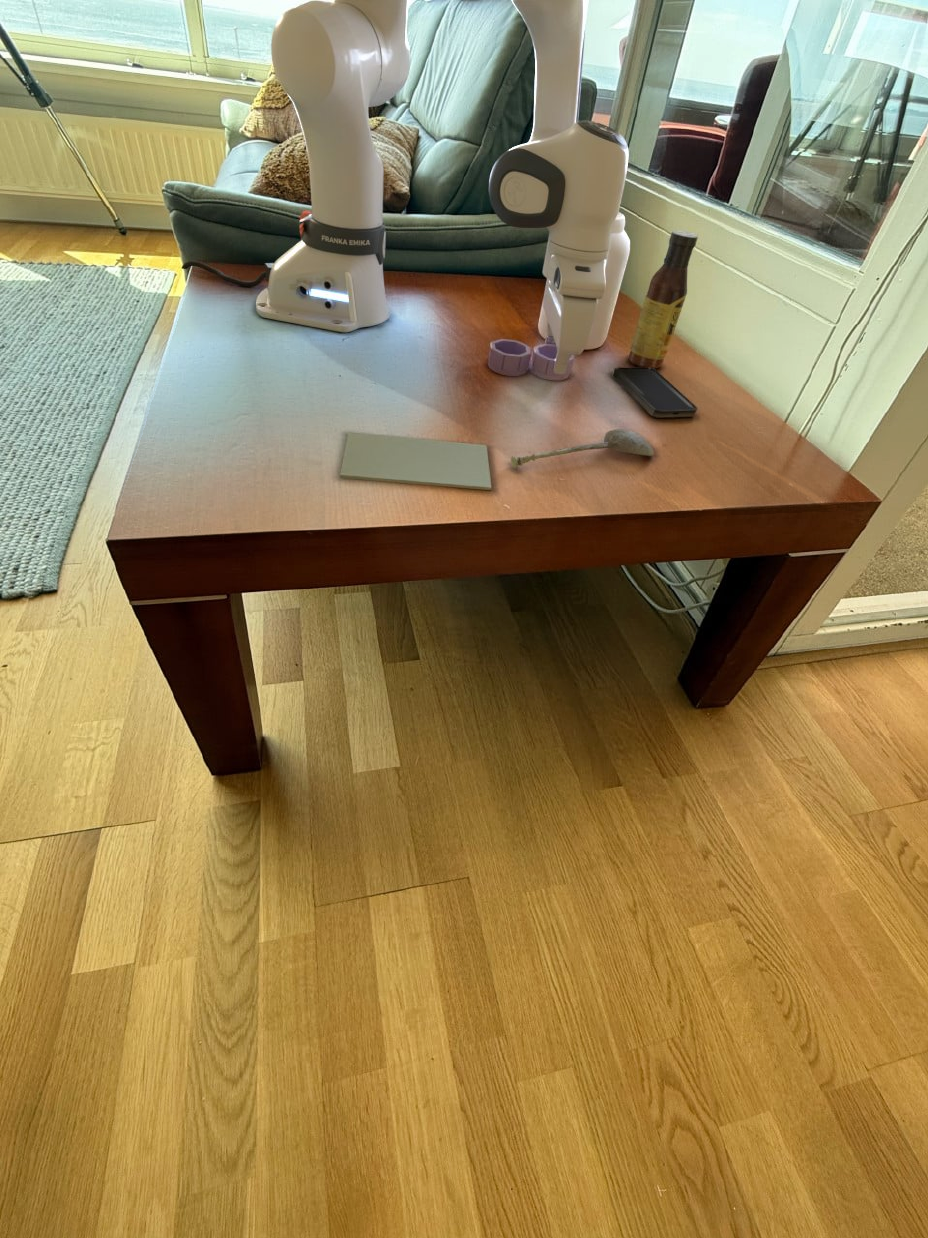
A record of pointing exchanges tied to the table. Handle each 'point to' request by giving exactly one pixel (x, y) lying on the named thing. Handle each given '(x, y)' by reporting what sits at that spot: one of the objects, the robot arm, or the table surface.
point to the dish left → (509, 357)
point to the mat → (416, 461)
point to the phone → (654, 392)
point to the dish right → (548, 362)
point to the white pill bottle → (613, 282)
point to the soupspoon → (600, 446)
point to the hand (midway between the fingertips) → (554, 359)
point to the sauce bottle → (663, 303)
